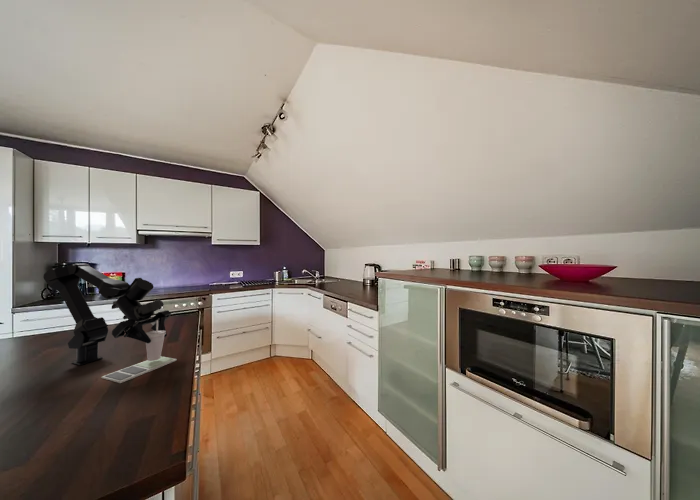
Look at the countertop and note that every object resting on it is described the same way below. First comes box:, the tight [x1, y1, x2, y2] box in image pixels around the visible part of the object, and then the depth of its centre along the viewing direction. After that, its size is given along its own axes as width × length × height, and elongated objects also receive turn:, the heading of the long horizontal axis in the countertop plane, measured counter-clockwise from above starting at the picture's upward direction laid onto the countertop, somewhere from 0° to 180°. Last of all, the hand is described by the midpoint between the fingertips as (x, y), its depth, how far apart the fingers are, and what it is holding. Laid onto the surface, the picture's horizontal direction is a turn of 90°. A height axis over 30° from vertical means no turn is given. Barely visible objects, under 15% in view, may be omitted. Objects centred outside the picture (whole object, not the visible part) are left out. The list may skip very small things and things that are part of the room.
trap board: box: [100, 355, 177, 384], centre depth 86 cm, size 10×18×1 cm, turn 161°
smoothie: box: [145, 320, 167, 361], centre depth 90 cm, size 6×6×14 cm
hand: (158, 339), depth 90 cm, fingers closed on smoothie, 6 cm apart
